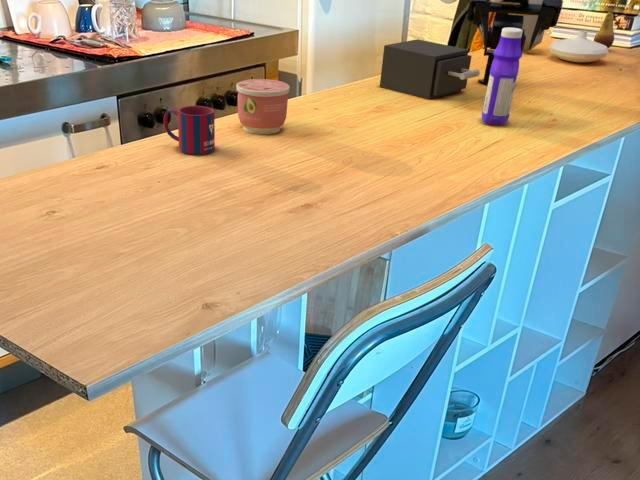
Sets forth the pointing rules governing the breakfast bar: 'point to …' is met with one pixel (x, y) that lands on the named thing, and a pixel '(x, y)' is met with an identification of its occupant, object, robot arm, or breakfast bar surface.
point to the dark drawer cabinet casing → (414, 66)
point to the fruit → (606, 31)
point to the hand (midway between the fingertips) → (507, 46)
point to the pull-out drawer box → (452, 74)
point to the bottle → (502, 77)
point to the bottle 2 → (531, 28)
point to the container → (262, 105)
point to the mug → (194, 129)
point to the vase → (579, 49)
